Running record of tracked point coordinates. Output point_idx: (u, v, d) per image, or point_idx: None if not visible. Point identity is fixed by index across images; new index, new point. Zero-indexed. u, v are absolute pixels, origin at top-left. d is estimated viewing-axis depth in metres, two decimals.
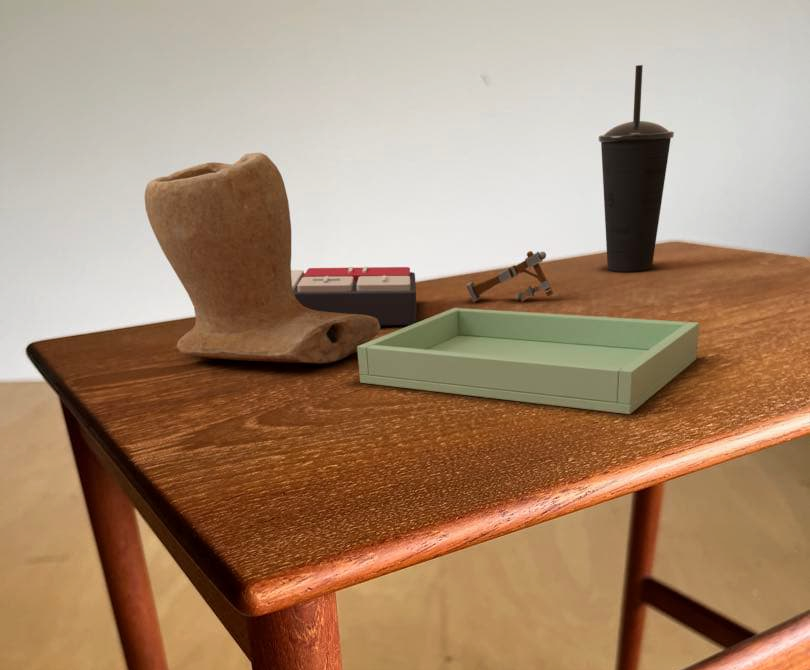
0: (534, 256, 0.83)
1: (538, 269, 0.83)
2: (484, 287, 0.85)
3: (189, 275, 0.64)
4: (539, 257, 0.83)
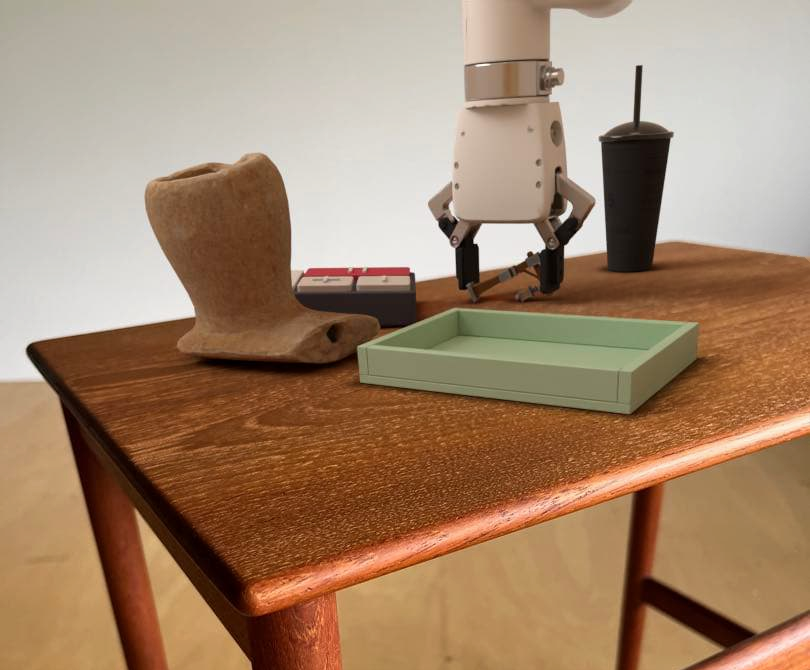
0: (534, 256, 0.83)
1: (538, 269, 0.83)
2: (484, 287, 0.85)
3: (189, 275, 0.64)
4: (539, 257, 0.83)
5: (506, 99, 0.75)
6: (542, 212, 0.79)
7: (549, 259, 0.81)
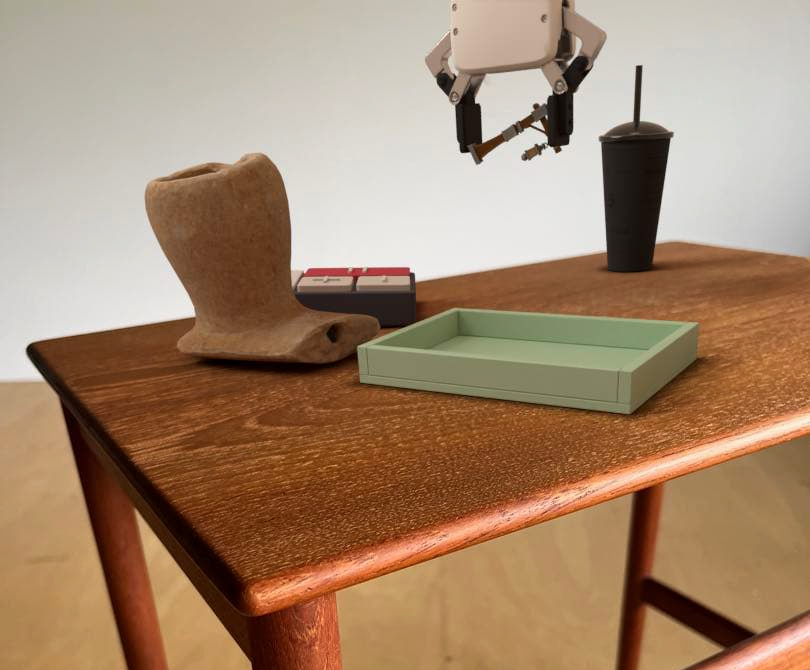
0: (541, 107, 0.76)
1: (545, 122, 0.77)
2: (487, 147, 0.79)
3: (189, 275, 0.64)
4: (546, 108, 0.76)
5: None
6: (548, 50, 0.72)
7: (557, 106, 0.74)
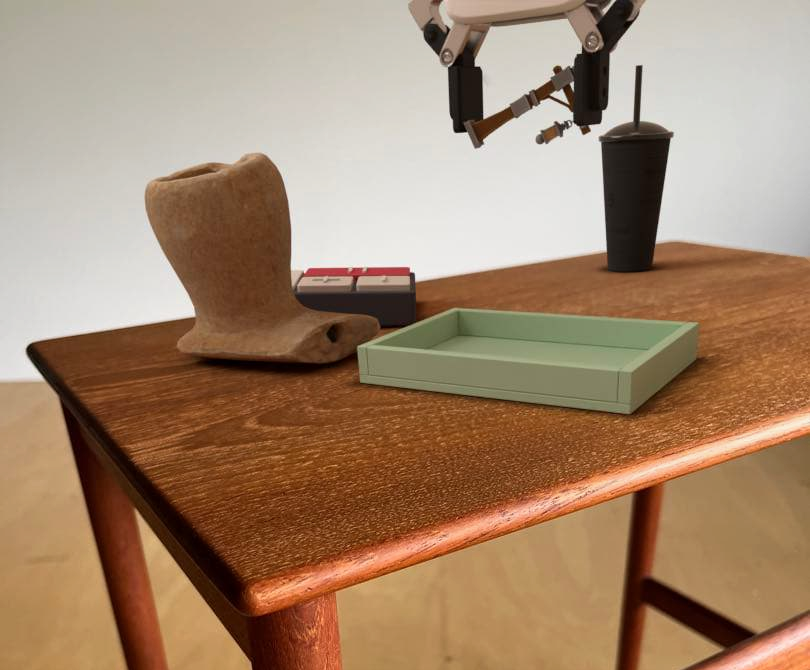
0: (564, 71, 0.56)
1: (570, 92, 0.56)
2: (490, 125, 0.58)
3: (189, 275, 0.64)
4: (571, 73, 0.56)
5: None
6: None
7: (588, 70, 0.54)
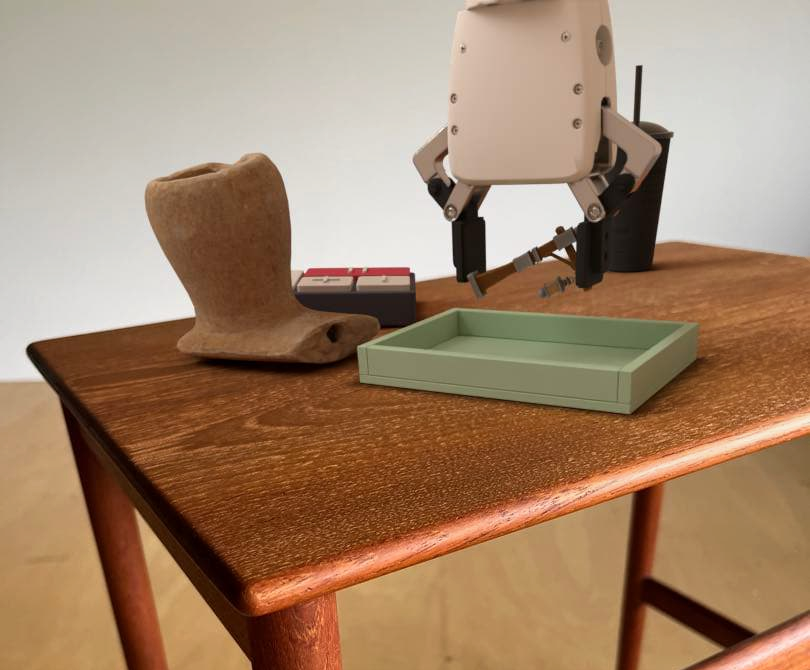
0: (566, 233, 0.57)
1: (572, 252, 0.57)
2: (493, 279, 0.59)
3: (189, 275, 0.64)
4: (574, 234, 0.57)
5: None
6: (581, 165, 0.53)
7: (590, 237, 0.55)
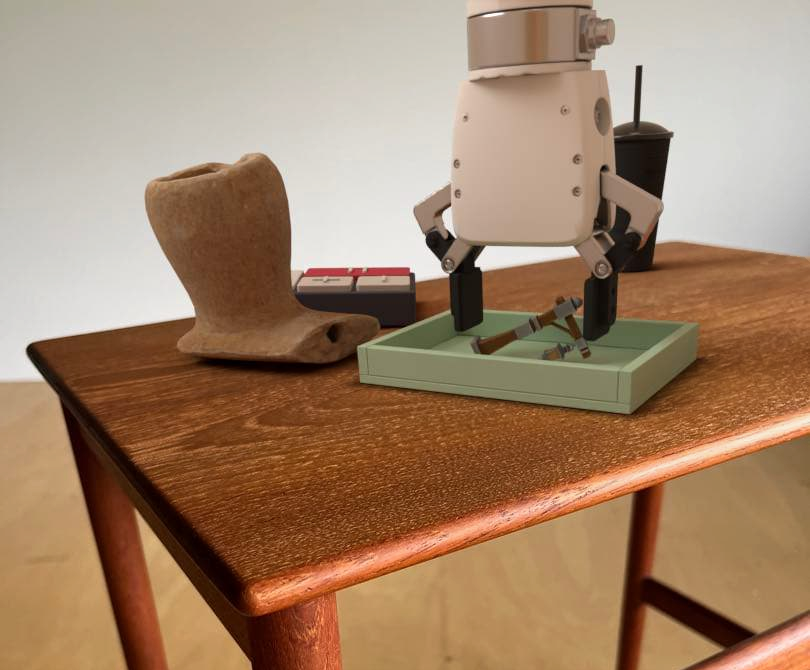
0: (566, 304, 0.59)
1: (571, 322, 0.59)
2: (495, 345, 0.61)
3: (189, 275, 0.64)
4: (573, 305, 0.59)
5: (530, 66, 0.51)
6: (581, 231, 0.54)
7: (597, 292, 0.56)
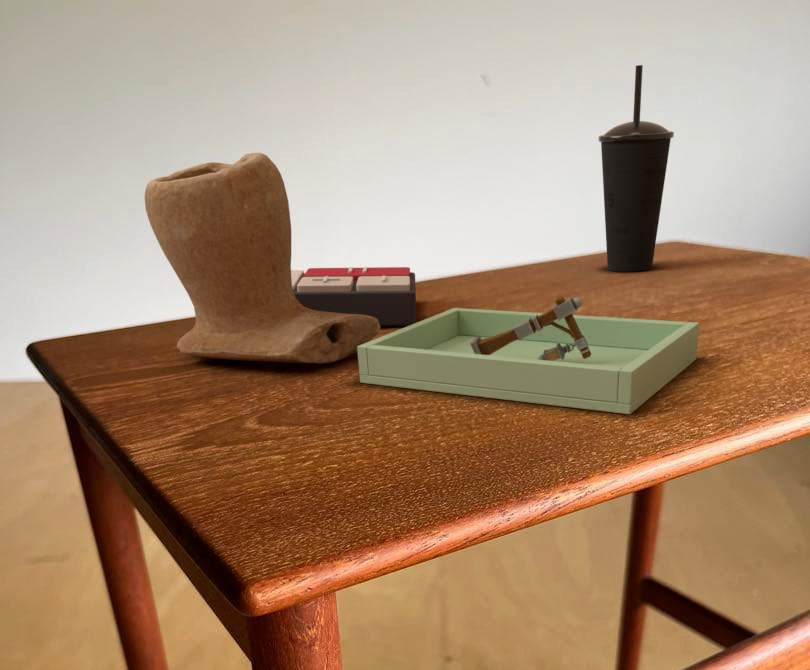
0: (566, 304, 0.59)
1: (571, 322, 0.59)
2: (495, 345, 0.61)
3: (189, 275, 0.64)
4: (573, 305, 0.59)
5: None
6: None
7: None
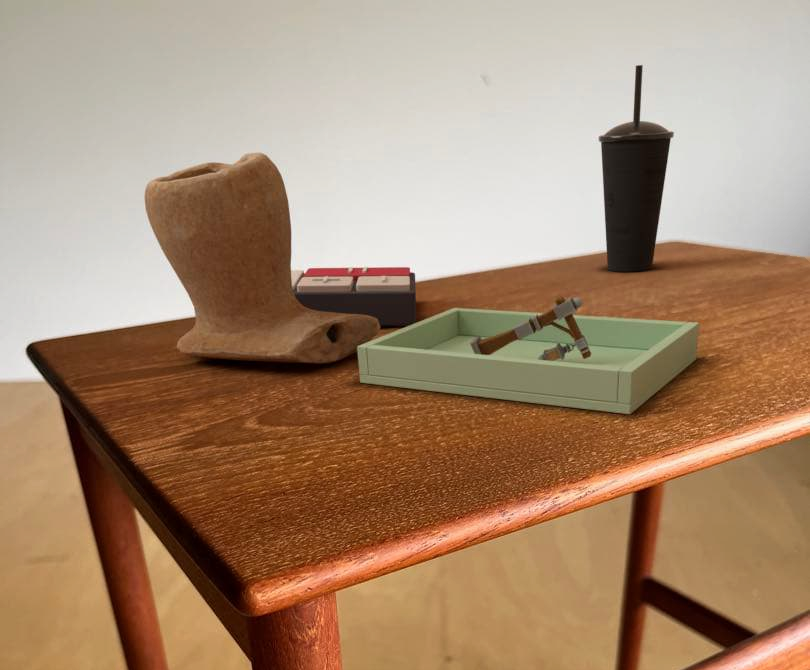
0: (566, 304, 0.59)
1: (571, 322, 0.59)
2: (495, 345, 0.61)
3: (189, 275, 0.64)
4: (573, 305, 0.59)
5: None
6: None
7: None
